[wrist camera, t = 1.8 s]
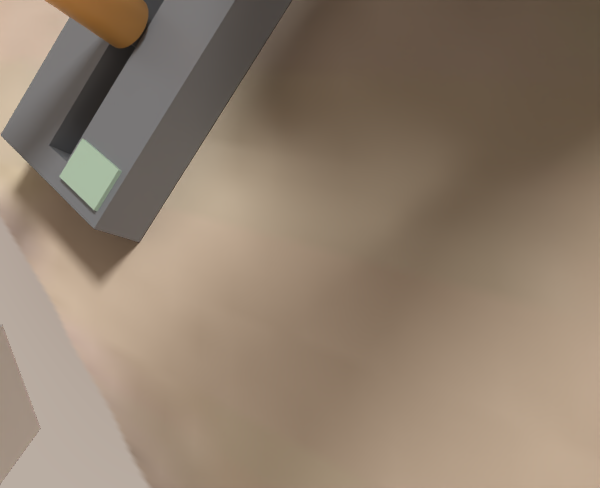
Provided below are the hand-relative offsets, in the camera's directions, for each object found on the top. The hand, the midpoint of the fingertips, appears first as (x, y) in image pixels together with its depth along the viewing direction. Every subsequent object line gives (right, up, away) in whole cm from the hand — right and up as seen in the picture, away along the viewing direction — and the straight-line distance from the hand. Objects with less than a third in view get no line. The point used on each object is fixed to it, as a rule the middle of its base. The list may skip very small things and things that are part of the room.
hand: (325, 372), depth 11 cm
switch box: (-10, +16, +30) cm, 36 cm away
